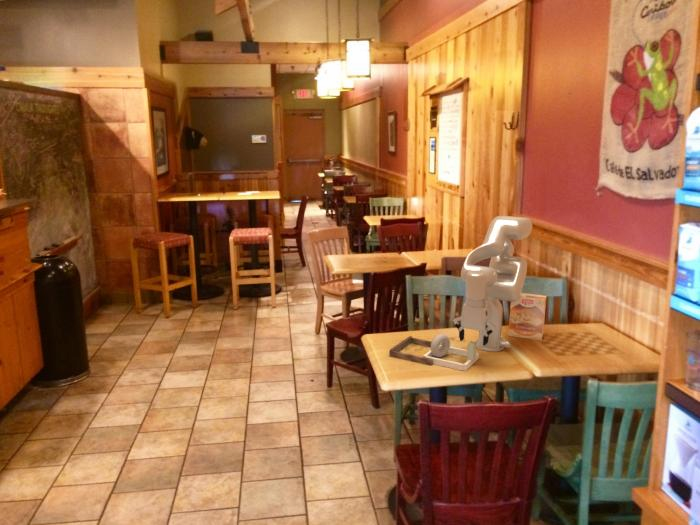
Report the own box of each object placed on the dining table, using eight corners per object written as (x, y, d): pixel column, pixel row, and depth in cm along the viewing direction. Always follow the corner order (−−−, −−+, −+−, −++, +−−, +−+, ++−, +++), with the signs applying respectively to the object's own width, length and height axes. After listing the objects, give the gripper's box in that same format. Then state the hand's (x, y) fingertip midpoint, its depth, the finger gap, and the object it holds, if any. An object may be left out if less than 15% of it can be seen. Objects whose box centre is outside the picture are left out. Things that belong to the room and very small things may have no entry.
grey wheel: (434, 361, 242) (435, 337, 240) (428, 358, 245) (429, 335, 243) (451, 355, 248) (452, 333, 246) (445, 353, 251) (446, 330, 249)
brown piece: (449, 350, 254) (449, 344, 253) (431, 366, 237) (431, 359, 236) (409, 342, 263) (409, 336, 262) (389, 356, 246) (389, 349, 246)
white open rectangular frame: (480, 358, 245) (481, 337, 243) (467, 371, 231) (468, 350, 229) (437, 349, 254) (438, 329, 252) (422, 361, 241) (423, 340, 239)
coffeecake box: (507, 336, 272) (510, 295, 268) (509, 331, 279) (512, 291, 274) (541, 340, 267) (545, 299, 262) (543, 335, 273) (546, 295, 269)
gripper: (499, 302, 232) (497, 342, 237) (457, 295, 241) (456, 334, 245) (493, 308, 226) (491, 349, 230) (450, 301, 234) (449, 341, 239)
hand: (473, 342), depth 238 cm, fingers open, 9 cm apart
